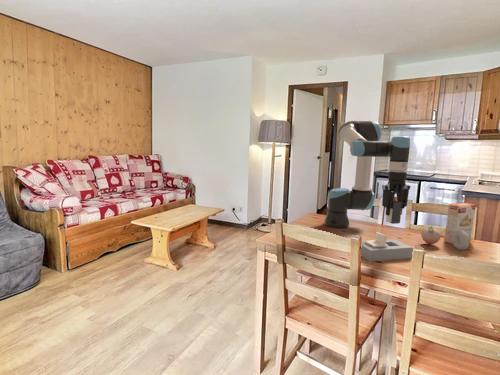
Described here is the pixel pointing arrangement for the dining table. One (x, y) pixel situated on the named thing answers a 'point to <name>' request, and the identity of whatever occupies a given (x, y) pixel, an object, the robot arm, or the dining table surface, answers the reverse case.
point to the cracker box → (459, 220)
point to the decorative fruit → (430, 235)
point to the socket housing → (387, 251)
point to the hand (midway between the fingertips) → (392, 221)
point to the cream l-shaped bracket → (378, 241)
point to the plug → (396, 211)
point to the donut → (461, 240)
